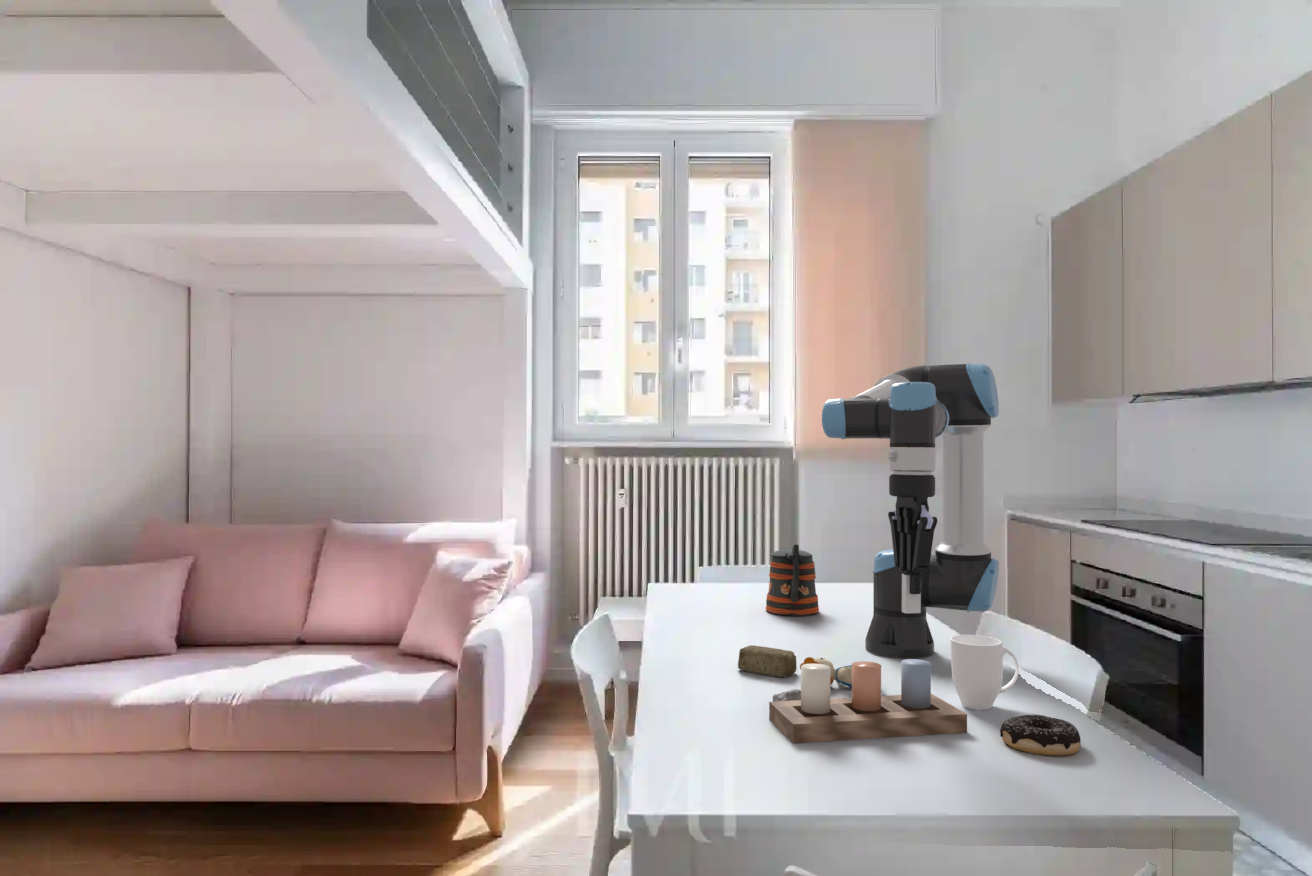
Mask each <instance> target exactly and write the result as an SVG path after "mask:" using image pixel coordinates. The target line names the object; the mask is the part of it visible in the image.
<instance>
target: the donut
mask: <svg viewBox="0 0 1312 876" xmlns="http://www.w3.org/2000/svg"><path fill="white" fill-rule="evenodd" d="M999 732H1000V734H999V735H1000V737H1001V738H1002V739H1001V740H1002V741H1003V743H1005V744H1007V745H1008V746H1009V747H1010V748H1013V749H1015V750H1018V751H1020V752H1024V753H1030V754H1035V755H1043V756H1057V757H1058V756H1063V757H1064V756H1070V755H1074V754H1076V753H1077V752H1078V751H1079V750H1080V748H1081V743H1082V742H1081V735H1080V733H1079V730H1078V729H1077V728H1076V726H1075V725H1074V724H1072V723H1071V722H1070V721H1067V720H1064V719H1060V718H1056V717H1051V716H1046V715H1044V714H1023V715H1017V716H1012V717H1010V718H1007V719H1006V720H1004V721H1003V722H1002V723H1001V726H1000V729H999Z"/></svg>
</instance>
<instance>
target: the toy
mask: <svg viewBox="0 0 1312 876" xmlns="http://www.w3.org/2000/svg"><path fill="white" fill-rule="evenodd" d="M804 664H823V665H827V666H829V667H830V687H831V686H832V685H833V682H834V681H835V682H837V683H838V684H841V685H843V686H846V687H848V688H851V689H852V664H851V665H844V666H840V667H838V668H834V664H833V663H832V662H831V660H828V659H827V658H825V657H824V658H823V657H820V658H813V657H810V656H808V657H806V658H804V660H803V662H802V663H800V665H799V669H800V670H801V666H802V665H804Z"/></svg>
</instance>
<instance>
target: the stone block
mask: <svg viewBox="0 0 1312 876" xmlns="http://www.w3.org/2000/svg"><path fill="white" fill-rule="evenodd" d="M737 667H738V670H741V671H743V672H746V673H747V672H748V673H751V674H756V675H762V676H769V677H775V678H787V677H790V676H793V675H794V674H795V673H796V672H797V656H796V655H795V653H794V651H791V650H787V649H781V648H774V647H768V646H761V645H752V644H751V645H747V646H744V647H742V648H739V654H738V660H737Z"/></svg>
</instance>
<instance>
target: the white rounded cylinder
mask: <svg viewBox="0 0 1312 876" xmlns="http://www.w3.org/2000/svg"><path fill="white" fill-rule="evenodd" d="M800 690H801V710H802V711H804V712H807V713H812V714H825V713H828V712H830V699H831V686H830V667H829V666H827V665H823V664H804V665H802V666H801V669H800Z"/></svg>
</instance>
